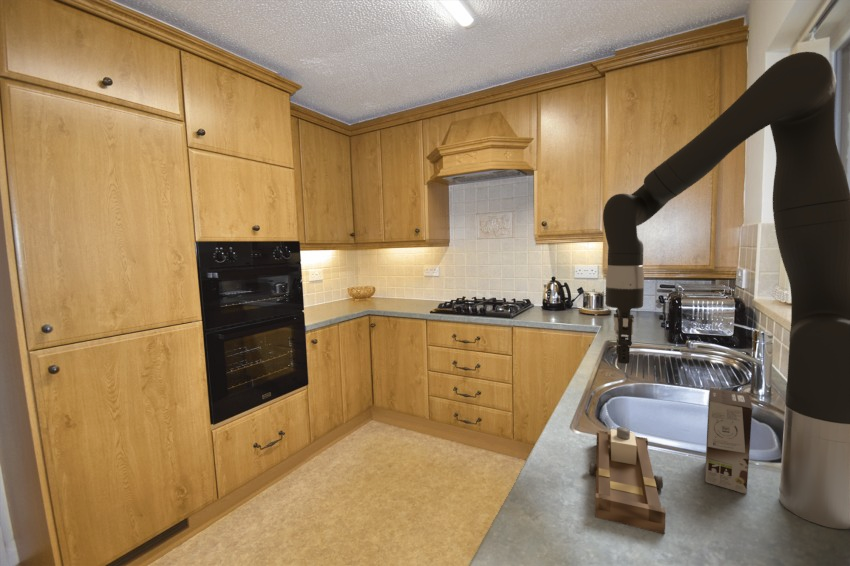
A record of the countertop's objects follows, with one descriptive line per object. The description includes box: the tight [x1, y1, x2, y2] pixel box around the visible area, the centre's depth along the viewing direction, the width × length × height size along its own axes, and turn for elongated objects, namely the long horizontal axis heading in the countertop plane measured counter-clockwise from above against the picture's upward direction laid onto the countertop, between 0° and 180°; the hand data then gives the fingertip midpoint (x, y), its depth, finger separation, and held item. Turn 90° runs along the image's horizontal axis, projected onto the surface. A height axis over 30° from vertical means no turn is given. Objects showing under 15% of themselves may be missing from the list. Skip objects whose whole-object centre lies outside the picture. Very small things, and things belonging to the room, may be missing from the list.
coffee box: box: [704, 387, 754, 494], centre depth 75 cm, size 9×6×16 cm
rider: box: [610, 426, 637, 465], centre depth 81 cm, size 4×6×6 cm
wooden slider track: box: [588, 429, 667, 535], centre depth 75 cm, size 12×26×4 cm, turn 156°
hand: (622, 358), depth 88 cm, fingers open, 7 cm apart
